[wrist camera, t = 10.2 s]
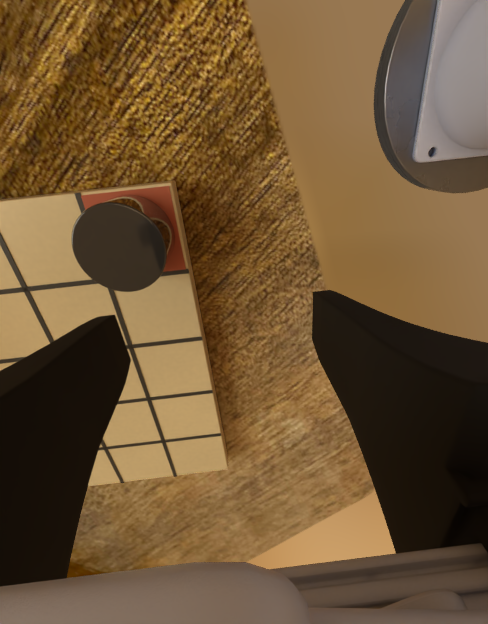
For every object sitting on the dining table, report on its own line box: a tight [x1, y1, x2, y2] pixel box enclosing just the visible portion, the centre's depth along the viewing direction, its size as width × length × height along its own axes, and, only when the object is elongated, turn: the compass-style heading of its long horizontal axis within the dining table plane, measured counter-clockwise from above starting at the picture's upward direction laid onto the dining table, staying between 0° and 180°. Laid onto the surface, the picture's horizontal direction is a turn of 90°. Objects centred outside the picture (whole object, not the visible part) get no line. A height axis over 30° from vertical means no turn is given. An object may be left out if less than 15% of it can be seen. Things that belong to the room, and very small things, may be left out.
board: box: [0, 180, 228, 486], centre depth 22 cm, size 20×25×2 cm
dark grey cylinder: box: [71, 194, 175, 292], centre depth 15 cm, size 4×4×3 cm
